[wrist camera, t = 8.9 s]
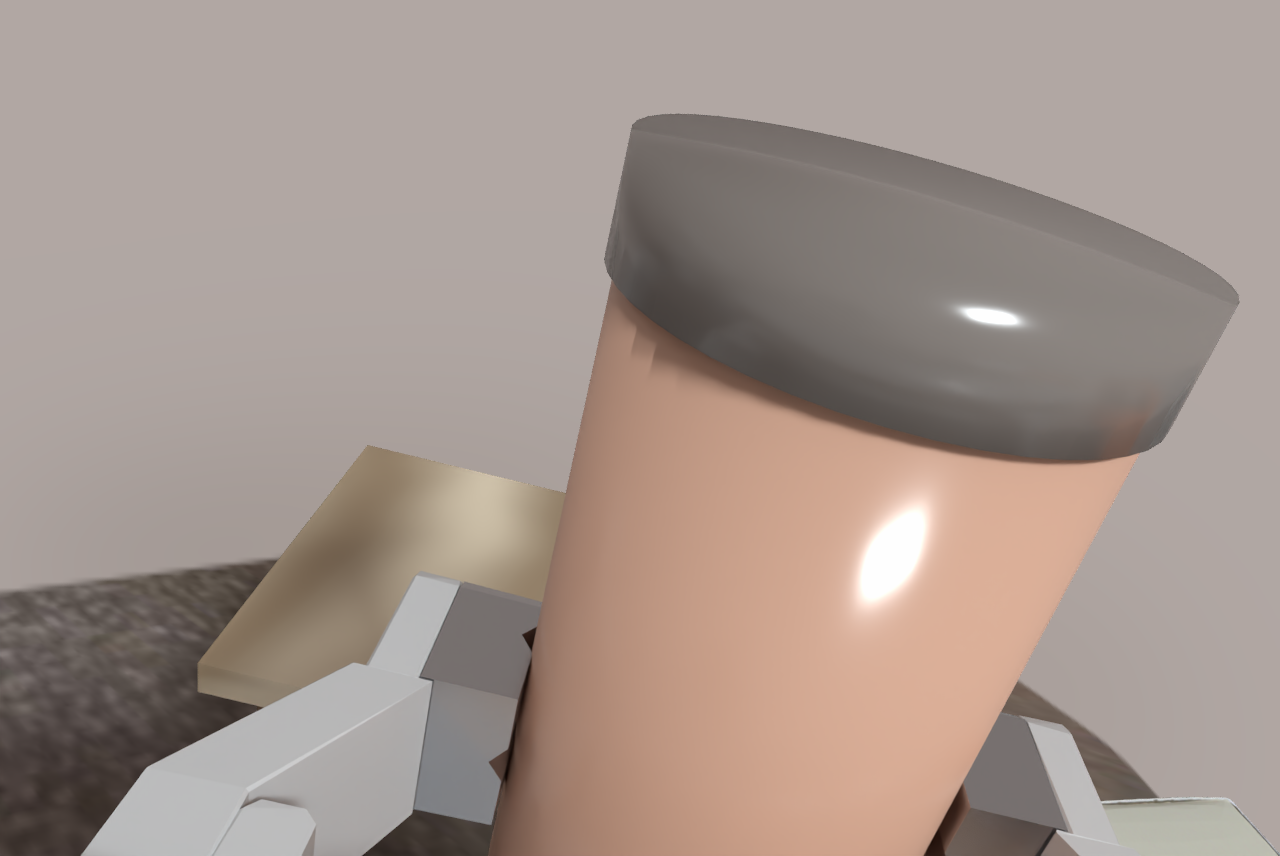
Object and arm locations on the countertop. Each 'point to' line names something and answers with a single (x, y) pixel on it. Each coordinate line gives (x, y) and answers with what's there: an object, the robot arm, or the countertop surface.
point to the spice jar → (827, 489)
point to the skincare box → (1186, 827)
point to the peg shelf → (378, 568)
